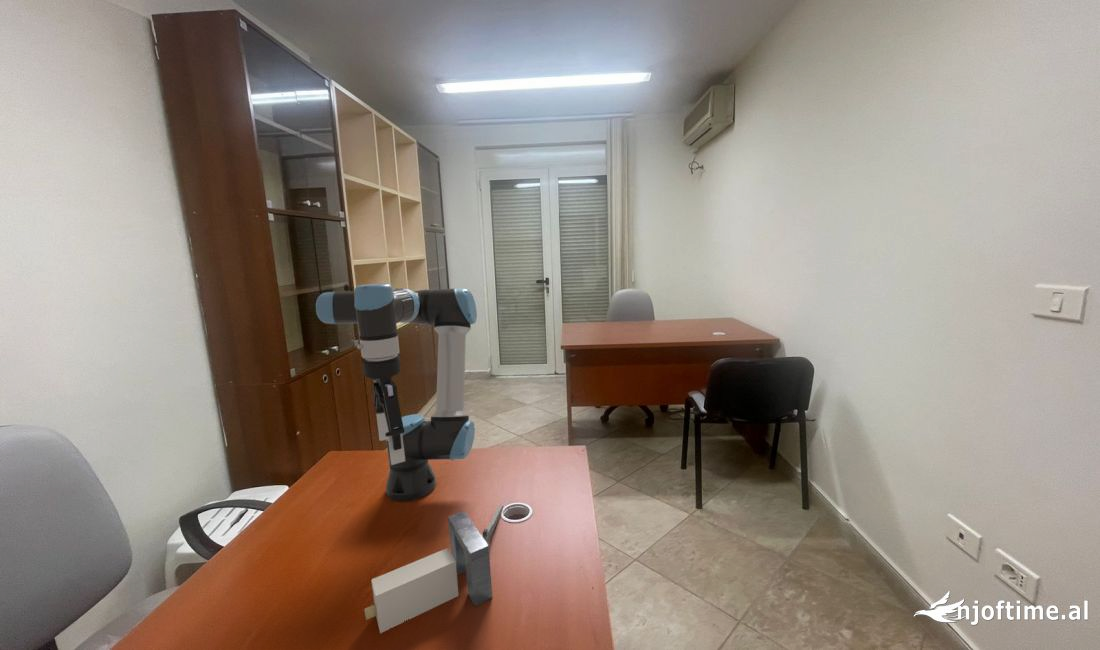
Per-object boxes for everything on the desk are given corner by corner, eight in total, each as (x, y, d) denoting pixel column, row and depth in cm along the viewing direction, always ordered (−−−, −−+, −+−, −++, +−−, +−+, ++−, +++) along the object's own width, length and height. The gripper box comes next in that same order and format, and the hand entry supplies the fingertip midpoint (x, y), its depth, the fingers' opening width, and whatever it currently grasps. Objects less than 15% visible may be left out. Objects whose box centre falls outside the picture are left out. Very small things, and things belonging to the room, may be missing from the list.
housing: (452, 564, 98) (447, 516, 95) (468, 557, 100) (464, 510, 97) (474, 606, 85) (470, 553, 83) (492, 597, 87) (488, 545, 85)
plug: (365, 620, 83) (360, 583, 82) (451, 581, 93) (448, 547, 91) (369, 639, 79) (364, 601, 78) (458, 596, 88) (455, 561, 87)
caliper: (487, 558, 99) (485, 535, 98) (482, 558, 99) (481, 535, 98) (503, 507, 119) (502, 487, 118) (500, 507, 119) (498, 487, 118)
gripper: (354, 349, 95) (365, 434, 99) (371, 373, 74) (384, 480, 78) (388, 344, 99) (397, 427, 103) (413, 365, 78) (423, 468, 82)
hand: (391, 450), depth 90 cm, fingers open, 13 cm apart
